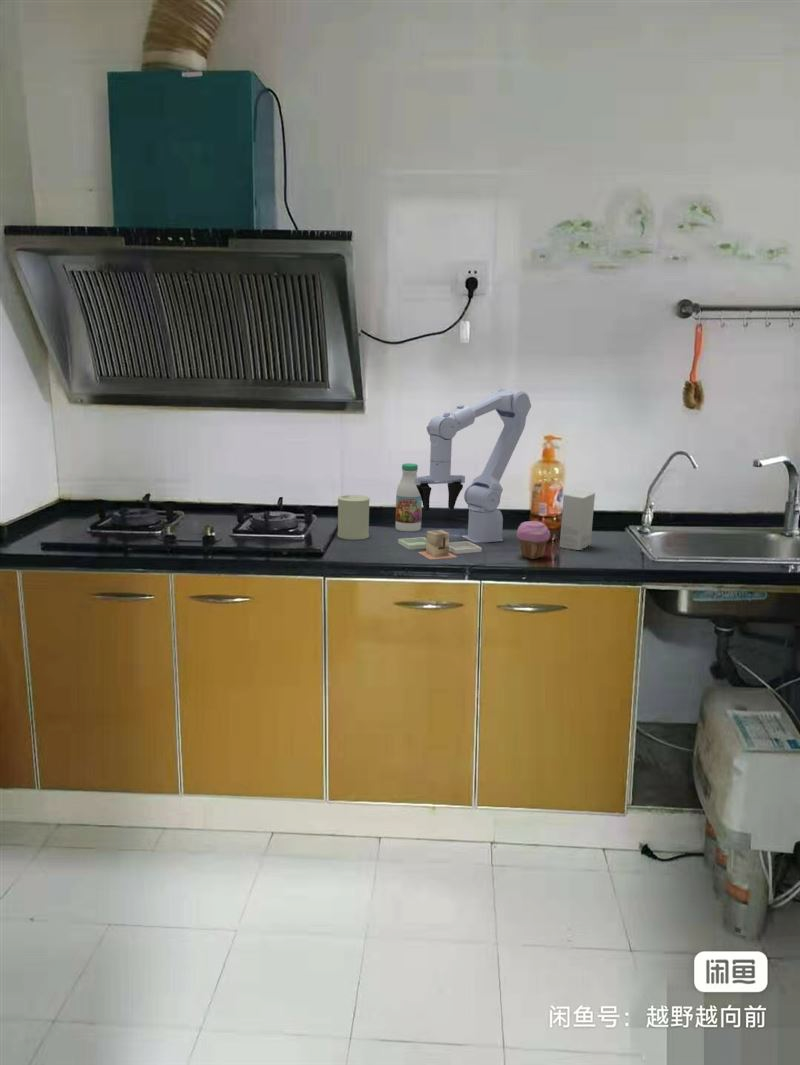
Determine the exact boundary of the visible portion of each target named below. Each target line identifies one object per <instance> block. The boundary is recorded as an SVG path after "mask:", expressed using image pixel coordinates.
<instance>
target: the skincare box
mask: <svg viewBox="0 0 800 1065" xmlns="http://www.w3.org/2000/svg"><path fill="white" fill-rule="evenodd" d="M595 496H596V493H595V492H591V491H583V490H578V489H577V490H576V489H575V490H573V491H570V492H568V493H564V494H563V497H562V498H563V499H562V500H563V501H562V509H561V510H562V513H561V514H562V515H561V524H560V535H559V536H560V538H559V548H560V547H564V548H571V549H577V550H581V549H583V548H585V547H587V546H588V545H590V544H591V545H592V532H593V531H592V530H593V521H594V520H593V519H594V510H595V509H594V508H595V507H594V506H595V498H596V497H595ZM587 548H588V547H587ZM585 549H586V548H585ZM583 550H584V549H583ZM581 551H582V550H581Z"/></svg>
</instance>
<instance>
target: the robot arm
mask: <svg viewBox="0 0 800 1065" xmlns="http://www.w3.org/2000/svg"><path fill="white" fill-rule="evenodd" d="M531 408H532V403H531V401H530V396H529V395H528V393H526V392H525V391H522V390H521V391H514V390H508V389H507V390H506V389H503V388H502V389H501V388H500V389H498V390H496V391H494V392H492V393H491V394H490V395H488V396H486V397H484V398H483V399H481V400H479V401H477V402H476V403H474V404H473V405H471V406H468V405H465V404H458V405H457V406H456V408H455V409H453V410H452V411H445V412H444V413H443V415H442V416H440V415H437V416H432V418H430V420H429V422H428V426H426V432H427V433H428V435H429V442H430V454H429V455H430V456H429V460H430V461H429V475H423V476H417V477H415V478H414V484H416V487H417V489H418V491H419V493H420V496H421V499H422V507H423V509H422V510H423V511H427V512H429V511H430V496H431V494H432V487H431V486H430V485H439V484H442V485H443V484H447V492H448V500H447V504H448V506H447V507H448V509H449V510H455V505H456V502H457V500H458V497H459V496H460V493H461V492H462V489H463V488H464V484H465V482H466V476H465V475H462V474H458V475H457V474H456V475H453V474H451V472H452V471H451V470H452V469H451V468H452V449H453V448H452V445H453V439H454V438H455V436H456V434H457V432H460V431H462V430H463V429H465V428H467V427H470V426H471V425H473V424H474V423H475V420H476V418H479V417H481V416H483V415H485V414H488V413H490V412H493V411H494V410H495V411H496V413H497V415H498V416H499V417H500V420H501V421H502V422H503V425H504V426H503V428H502V431H501V432H500V434H499V437H498V439H497V442H496V443H495V445H494V447H493V449H492V451H491V454H490V456H489V458H488V460H487V462H486V464H485V467H484V469H483V470H482V473H481V474H480V475H478V476H476V477H475V478H473V480H472V482H471V484H469V485H468V486H467V487H466V489H465V491H464V494H463V498H464V501H465V503H466V505H467V509H468V524H467V525H468V526H467V527H468V528H467V535H465V534H464V535H462V538H464V539H466V540H468V541H469V542H471V543H473V544H476V543H493V542H494V543H495V542H503V541H504V539H503V526H504V525H503V522H504V518H503V514H502V512H501V510H500V509H499V508H498V507H499V505H500V503H501V497H502V492H503V487H502V485H501V483H500V481H501V479H502V477H503V474H504V472H505V471H506V468H507V466H508V464H509V462H510V460H511V458H512V456H513V454H514V451H515V450H516V448H517V445H518V443H519V441H520V439H521V436H522V434H523V432H524V430H525V426H526V422H527V416H528V415H529V412H530V410H531Z"/></svg>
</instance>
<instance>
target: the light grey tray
mask: <svg viewBox="0 0 800 1065" xmlns="http://www.w3.org/2000/svg"><path fill="white" fill-rule="evenodd" d="M482 549H483V548H482V547H481V546H479V545H478V544H476V543H474V542H472V541H470V540H468V541H467V540H466V541H464V540H463V541H453V542H450V541H449V552H450V553H451V554H453V555H458V554H460V555H461V554H471V553H481V552H482Z"/></svg>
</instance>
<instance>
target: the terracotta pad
mask: <svg viewBox="0 0 800 1065" xmlns="http://www.w3.org/2000/svg"><path fill="white" fill-rule="evenodd" d="M417 553H418V554H420V555H422V556H423V557H425V558H427V559H428V560H430V561H431V560H444V559H445V560H446V559H454V558H458V556H457V555H456V554H454V553H452V552H450V551H449V555H448V556H438V557H433V556H431V555H429V554H427V553H426V550H425V551H417Z"/></svg>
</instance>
